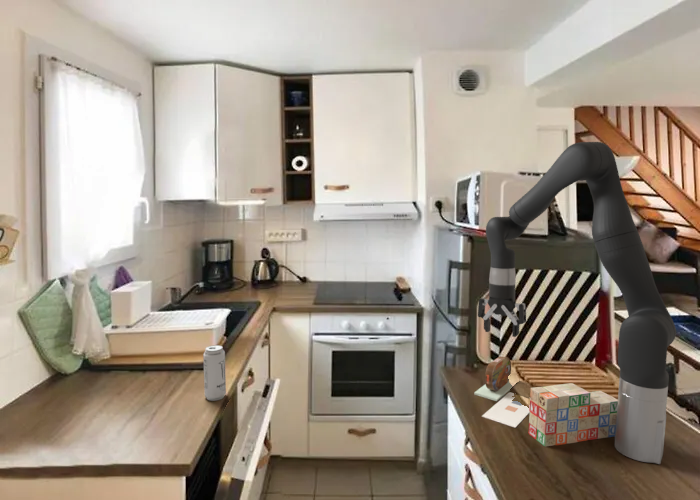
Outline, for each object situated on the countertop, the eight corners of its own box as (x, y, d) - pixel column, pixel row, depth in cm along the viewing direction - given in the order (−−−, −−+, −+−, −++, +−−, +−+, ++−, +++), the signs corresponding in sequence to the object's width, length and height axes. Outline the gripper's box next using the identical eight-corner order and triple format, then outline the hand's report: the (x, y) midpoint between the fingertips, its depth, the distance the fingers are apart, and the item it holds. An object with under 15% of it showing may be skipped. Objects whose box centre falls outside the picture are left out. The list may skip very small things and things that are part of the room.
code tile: (539, 404, 127) (540, 400, 127) (515, 431, 112) (515, 427, 112) (509, 395, 133) (509, 391, 133) (481, 419, 118) (481, 415, 117)
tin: (492, 395, 129) (493, 367, 128) (482, 392, 131) (483, 365, 130) (511, 379, 140) (512, 354, 140) (502, 377, 142) (503, 352, 142)
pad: (519, 381, 141) (520, 379, 141) (496, 401, 126) (496, 399, 126) (498, 375, 145) (498, 373, 145) (474, 394, 131) (474, 392, 131)
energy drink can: (222, 401, 125) (221, 351, 124) (201, 401, 125) (200, 351, 124) (228, 392, 131) (227, 344, 130) (208, 392, 131) (207, 344, 130)
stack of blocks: (598, 424, 114) (602, 379, 113) (618, 436, 108) (622, 389, 107) (527, 433, 109) (530, 386, 108) (544, 447, 103) (547, 397, 102)
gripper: (530, 282, 131) (528, 335, 132) (485, 278, 140) (484, 327, 142) (521, 286, 125) (519, 341, 127) (474, 281, 134) (473, 332, 136)
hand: (500, 333), depth 134 cm, fingers open, 8 cm apart
